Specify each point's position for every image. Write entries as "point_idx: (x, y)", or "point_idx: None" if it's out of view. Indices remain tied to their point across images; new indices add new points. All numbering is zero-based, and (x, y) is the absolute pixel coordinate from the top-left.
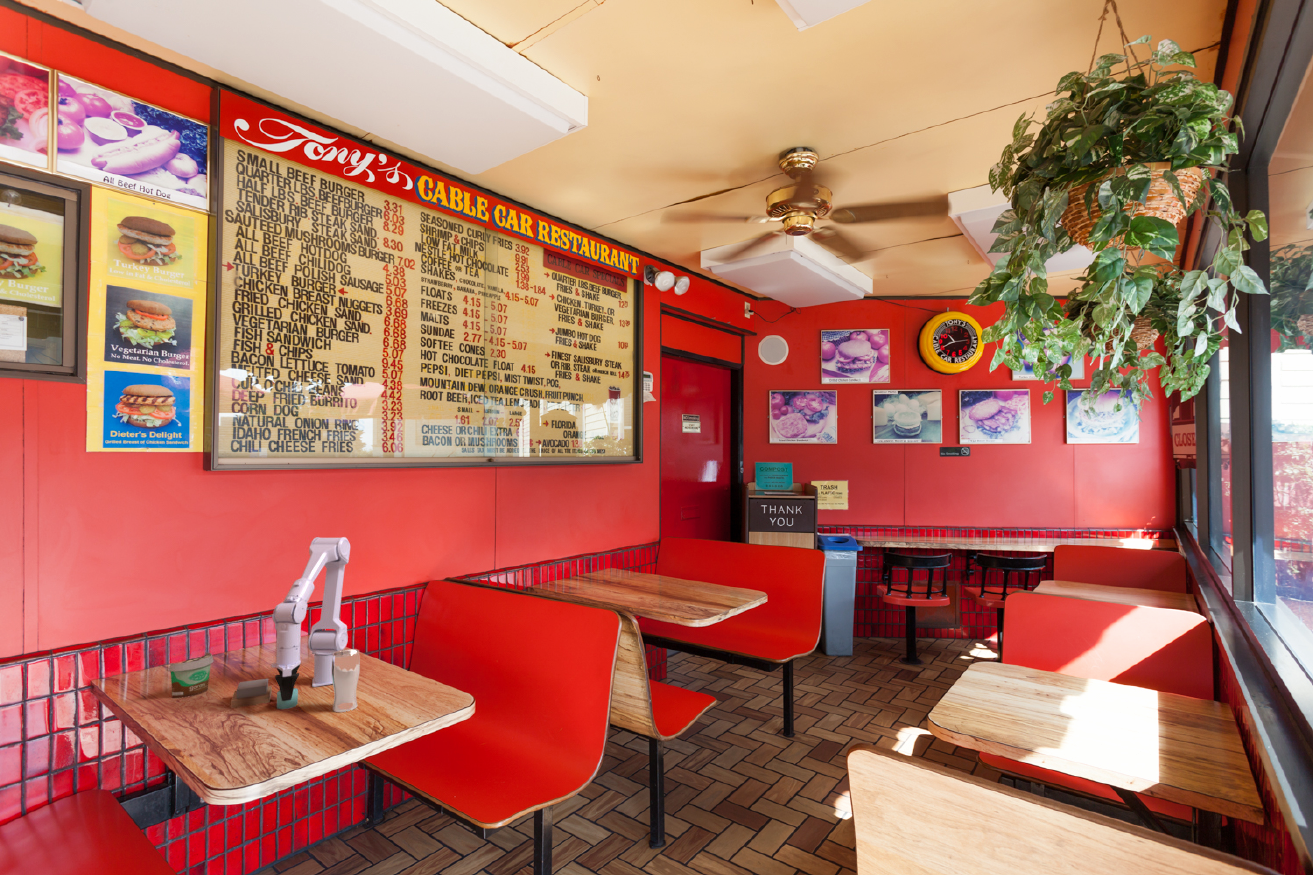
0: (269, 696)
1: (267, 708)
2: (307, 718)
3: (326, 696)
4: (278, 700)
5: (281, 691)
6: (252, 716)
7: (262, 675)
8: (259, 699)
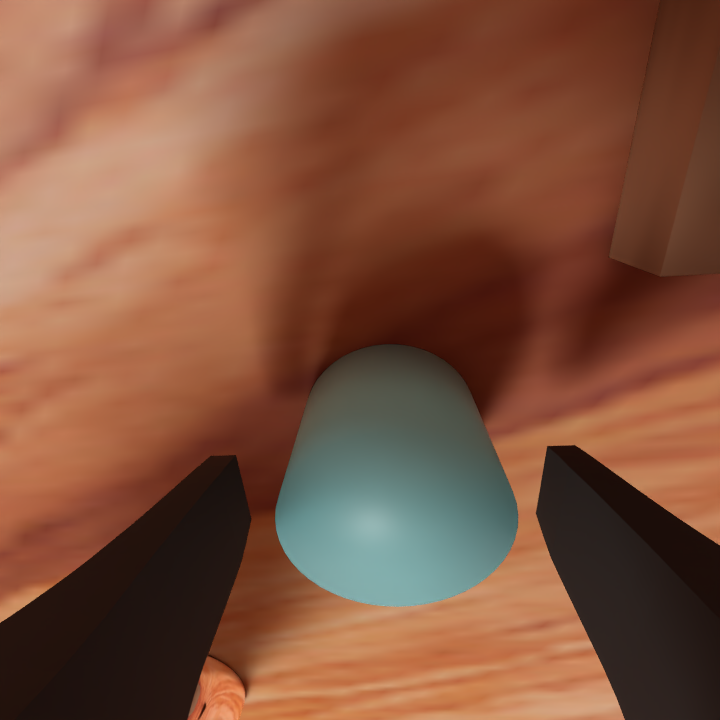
0: (649, 272)
1: (392, 263)
2: (36, 547)
3: (464, 624)
4: (326, 402)
5: (118, 550)
6: (176, 133)
7: None
8: (668, 141)
